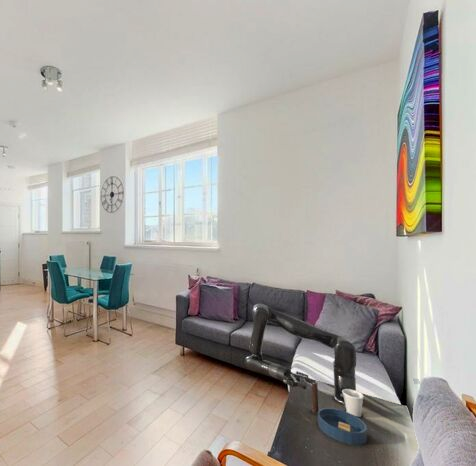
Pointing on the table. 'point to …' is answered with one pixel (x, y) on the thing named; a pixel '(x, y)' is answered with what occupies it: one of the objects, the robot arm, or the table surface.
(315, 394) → the cylinder
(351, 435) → the bowl
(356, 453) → the table surface
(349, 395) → the dixie cup
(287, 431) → the table surface
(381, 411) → the table surface
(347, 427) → the wooden block
